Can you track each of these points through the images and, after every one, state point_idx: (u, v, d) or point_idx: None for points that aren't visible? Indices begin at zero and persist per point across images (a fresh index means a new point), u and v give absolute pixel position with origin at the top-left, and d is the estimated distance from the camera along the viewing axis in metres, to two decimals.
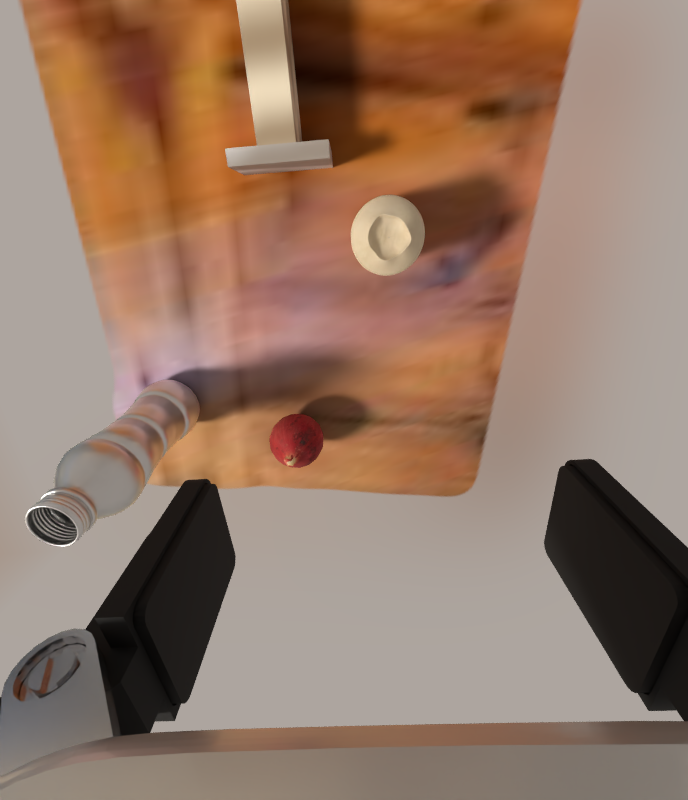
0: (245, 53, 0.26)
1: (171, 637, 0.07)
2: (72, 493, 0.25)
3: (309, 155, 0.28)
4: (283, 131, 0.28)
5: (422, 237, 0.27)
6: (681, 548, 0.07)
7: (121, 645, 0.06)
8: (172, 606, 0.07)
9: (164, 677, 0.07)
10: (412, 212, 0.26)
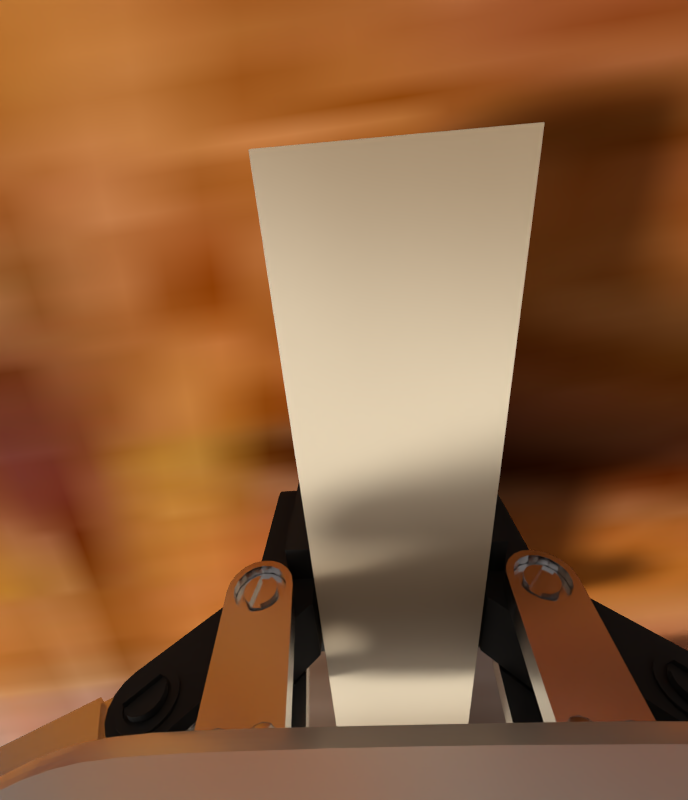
0: (327, 624, 0.07)
1: None
2: None
3: None
4: None
5: None
6: None
7: (301, 576, 0.07)
8: None
9: None
10: None
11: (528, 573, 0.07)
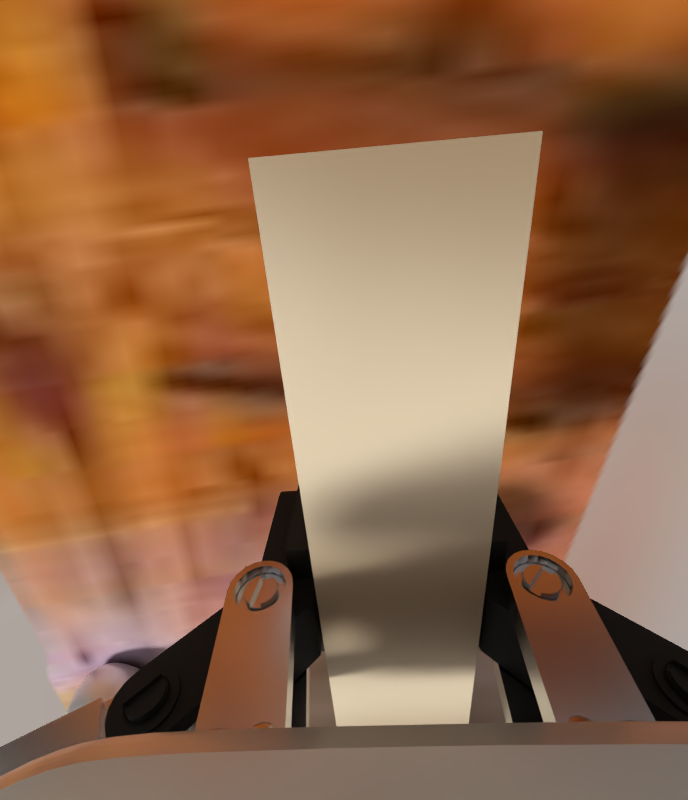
0: (327, 627, 0.07)
1: None
2: None
3: None
4: None
5: None
6: None
7: (301, 576, 0.07)
8: None
9: None
10: None
11: (528, 573, 0.07)
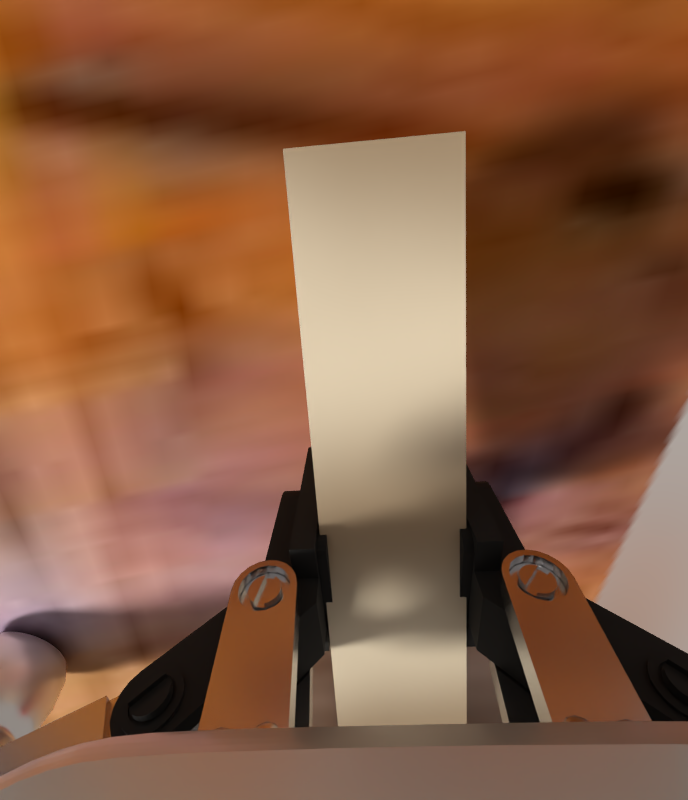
0: None
1: None
2: None
3: None
4: None
5: None
6: (481, 507, 0.08)
7: (305, 575, 0.07)
8: None
9: None
10: None
11: (524, 573, 0.07)
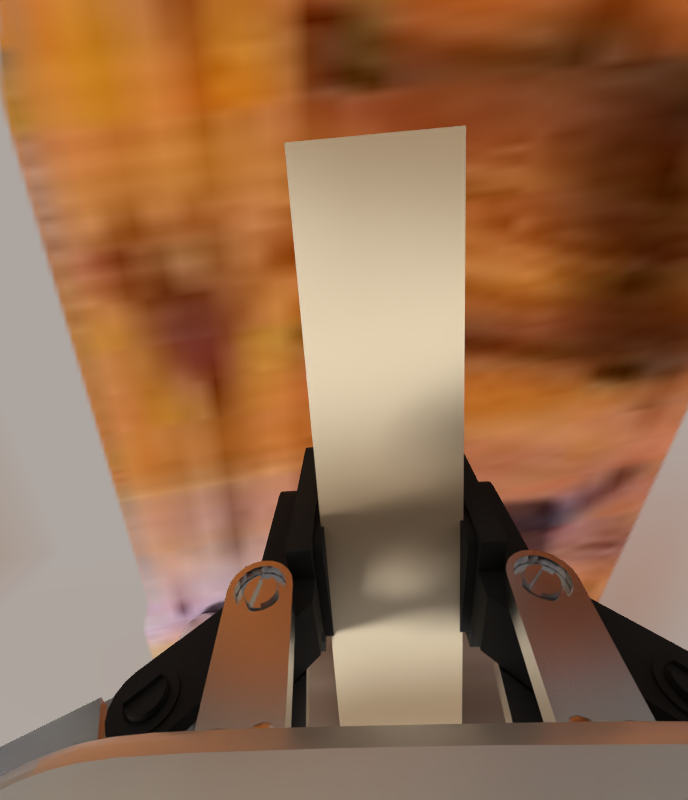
0: (327, 540, 0.08)
1: None
2: None
3: None
4: (428, 707, 0.09)
5: None
6: (484, 507, 0.08)
7: (301, 576, 0.07)
8: None
9: (325, 609, 0.08)
10: None
11: (528, 573, 0.07)
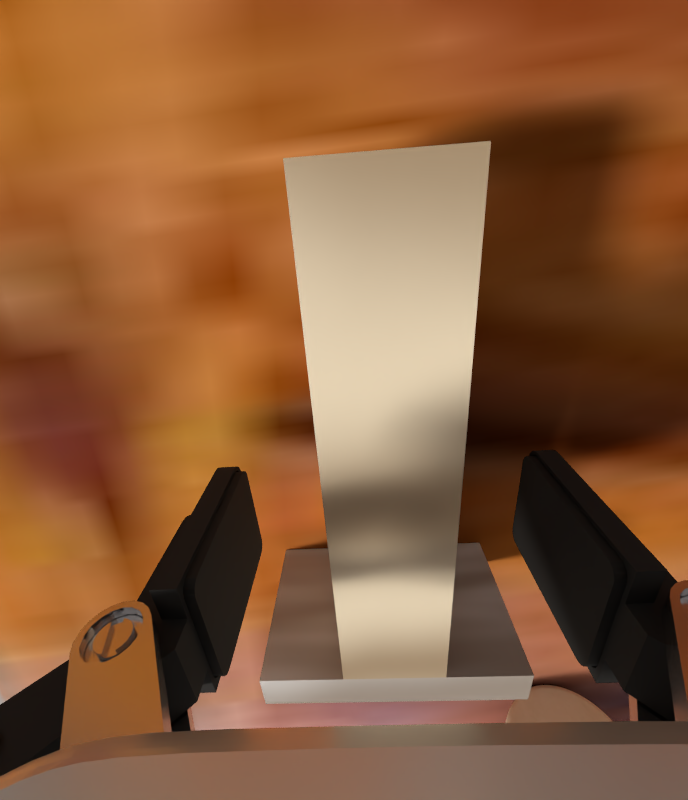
0: (332, 542, 0.09)
1: (214, 612, 0.08)
2: None
3: (476, 694, 0.11)
4: (418, 662, 0.10)
5: None
6: (622, 529, 0.07)
7: (172, 617, 0.07)
8: (214, 583, 0.08)
9: (208, 649, 0.07)
10: None
11: None
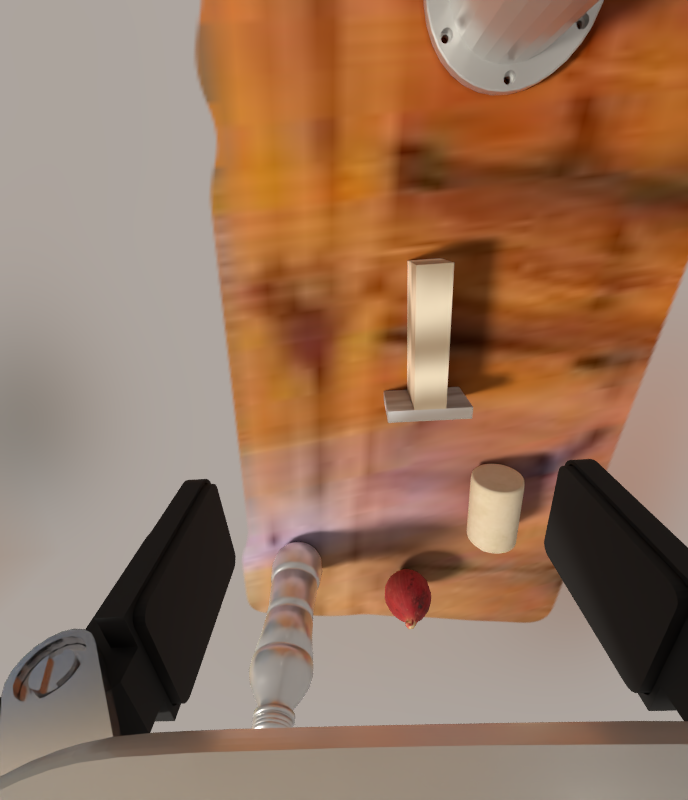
0: (416, 355, 0.33)
1: (171, 637, 0.07)
2: (282, 709, 0.32)
3: (455, 416, 0.35)
4: (437, 402, 0.34)
5: None
6: (681, 548, 0.07)
7: (121, 645, 0.06)
8: (172, 606, 0.07)
9: (164, 677, 0.07)
10: None
11: None
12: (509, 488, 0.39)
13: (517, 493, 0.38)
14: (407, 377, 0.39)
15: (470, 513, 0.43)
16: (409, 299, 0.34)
